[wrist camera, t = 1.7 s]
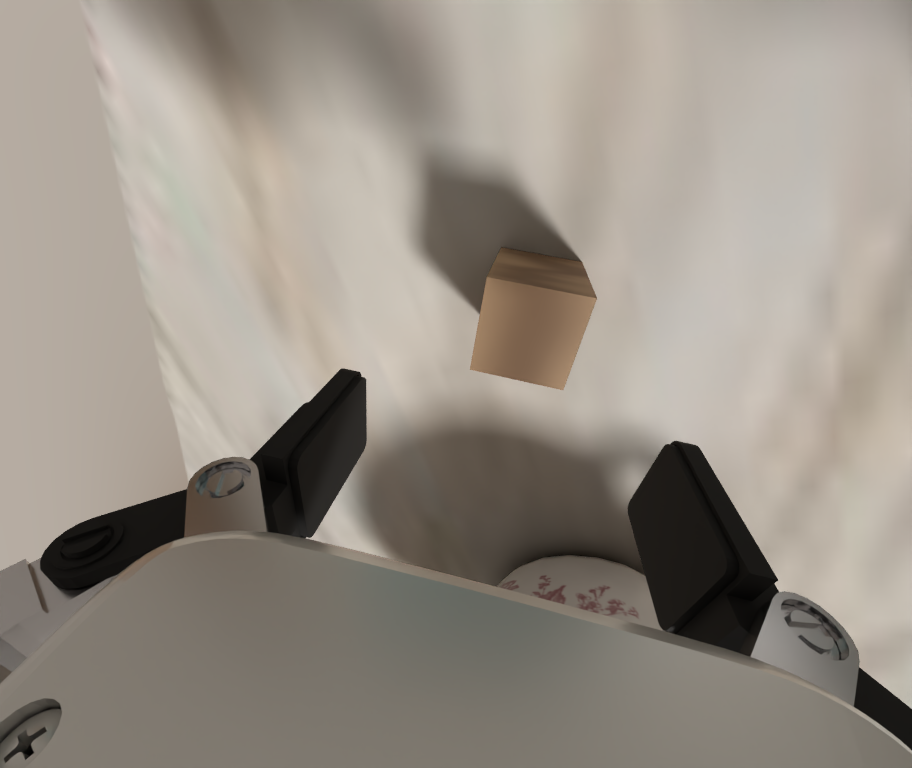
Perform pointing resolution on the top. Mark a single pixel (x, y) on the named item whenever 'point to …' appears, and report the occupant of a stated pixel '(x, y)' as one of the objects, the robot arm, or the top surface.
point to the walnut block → (532, 317)
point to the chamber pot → (587, 586)
